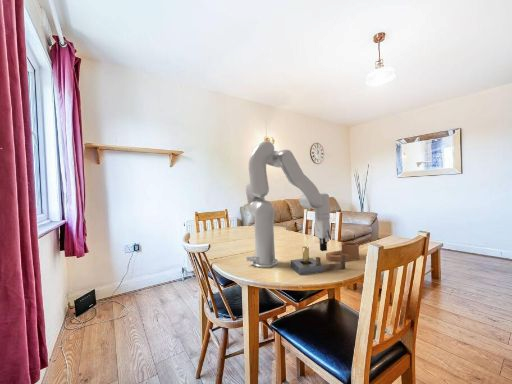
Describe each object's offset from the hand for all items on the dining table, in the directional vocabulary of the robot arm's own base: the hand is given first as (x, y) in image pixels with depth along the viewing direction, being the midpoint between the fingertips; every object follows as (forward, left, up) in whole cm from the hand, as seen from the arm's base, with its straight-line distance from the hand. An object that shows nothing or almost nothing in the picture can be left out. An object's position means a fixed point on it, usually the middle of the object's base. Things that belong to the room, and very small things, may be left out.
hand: (323, 250), depth 125 cm
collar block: (-17, -16, -3) cm, 24 cm away
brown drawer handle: (-7, -20, -3) cm, 22 cm away
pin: (-17, -16, -3) cm, 24 cm away
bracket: (+7, -7, -3) cm, 10 cm away
